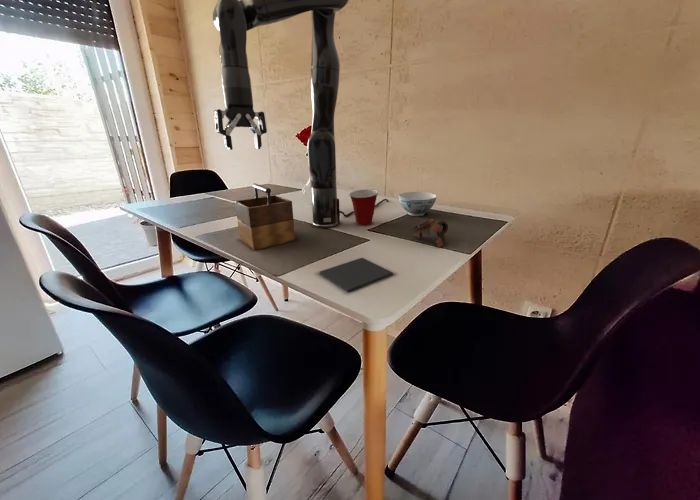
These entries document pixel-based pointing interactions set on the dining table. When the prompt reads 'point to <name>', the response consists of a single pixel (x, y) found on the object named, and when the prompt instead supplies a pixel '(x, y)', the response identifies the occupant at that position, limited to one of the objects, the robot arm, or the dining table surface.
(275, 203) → the box
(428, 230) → the brown toy animal
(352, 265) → the mat
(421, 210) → the chinaware
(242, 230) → the box
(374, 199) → the plastic cup
